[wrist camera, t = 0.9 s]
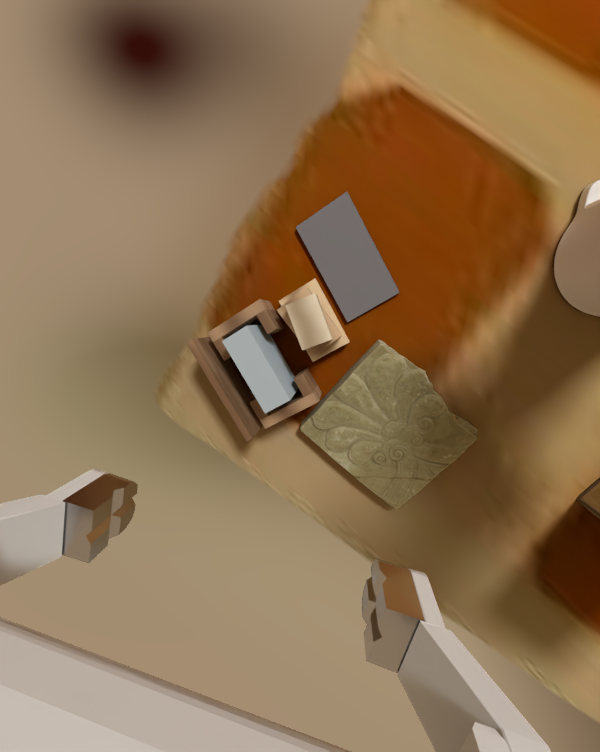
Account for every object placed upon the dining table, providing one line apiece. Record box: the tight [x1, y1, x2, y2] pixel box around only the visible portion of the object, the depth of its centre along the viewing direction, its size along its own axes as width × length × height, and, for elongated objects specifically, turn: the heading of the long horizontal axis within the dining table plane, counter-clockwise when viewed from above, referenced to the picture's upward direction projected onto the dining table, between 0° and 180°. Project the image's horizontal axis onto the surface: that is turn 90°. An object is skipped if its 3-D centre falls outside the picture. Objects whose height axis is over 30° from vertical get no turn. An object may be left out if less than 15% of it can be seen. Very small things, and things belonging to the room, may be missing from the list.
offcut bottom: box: [279, 279, 349, 362], centre depth 41 cm, size 6×10×2 cm, turn 30°
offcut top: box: [285, 293, 333, 350], centre depth 36 cm, size 4×6×2 cm, turn 21°
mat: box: [296, 192, 400, 322], centre depth 39 cm, size 8×15×1 cm, turn 30°
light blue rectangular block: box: [222, 325, 299, 413], centre depth 40 cm, size 4×11×8 cm, turn 30°
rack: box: [187, 299, 322, 442], centre depth 41 cm, size 12×16×7 cm
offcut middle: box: [277, 286, 342, 357], centre depth 38 cm, size 5×8×2 cm, turn 38°
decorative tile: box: [300, 340, 478, 509], centre depth 41 cm, size 19×20×4 cm
